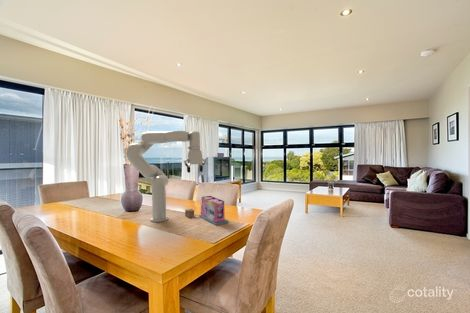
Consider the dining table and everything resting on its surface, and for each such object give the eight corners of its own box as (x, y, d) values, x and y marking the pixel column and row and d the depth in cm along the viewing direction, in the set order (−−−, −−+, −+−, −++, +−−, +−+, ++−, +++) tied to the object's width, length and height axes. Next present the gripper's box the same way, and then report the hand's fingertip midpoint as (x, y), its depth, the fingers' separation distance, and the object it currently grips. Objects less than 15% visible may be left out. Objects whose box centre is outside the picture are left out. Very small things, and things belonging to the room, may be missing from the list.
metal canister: (200, 213, 183) (199, 203, 183) (205, 212, 186) (205, 202, 186) (202, 214, 179) (202, 204, 179) (208, 213, 182) (208, 203, 181)
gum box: (226, 221, 157) (225, 201, 156) (215, 223, 153) (215, 203, 152) (210, 213, 177) (210, 195, 177) (201, 214, 173) (201, 196, 172)
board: (199, 217, 172) (199, 215, 172) (210, 214, 178) (210, 212, 178) (215, 225, 152) (215, 223, 152) (228, 222, 158) (228, 220, 158)
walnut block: (185, 216, 174) (185, 209, 174) (191, 215, 177) (191, 208, 177) (188, 217, 170) (187, 211, 170) (194, 216, 173) (194, 210, 173)
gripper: (185, 148, 158) (186, 173, 159) (207, 148, 168) (208, 171, 169) (181, 148, 164) (181, 172, 165) (202, 148, 174) (203, 171, 175)
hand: (195, 172), depth 167 cm, fingers open, 9 cm apart
